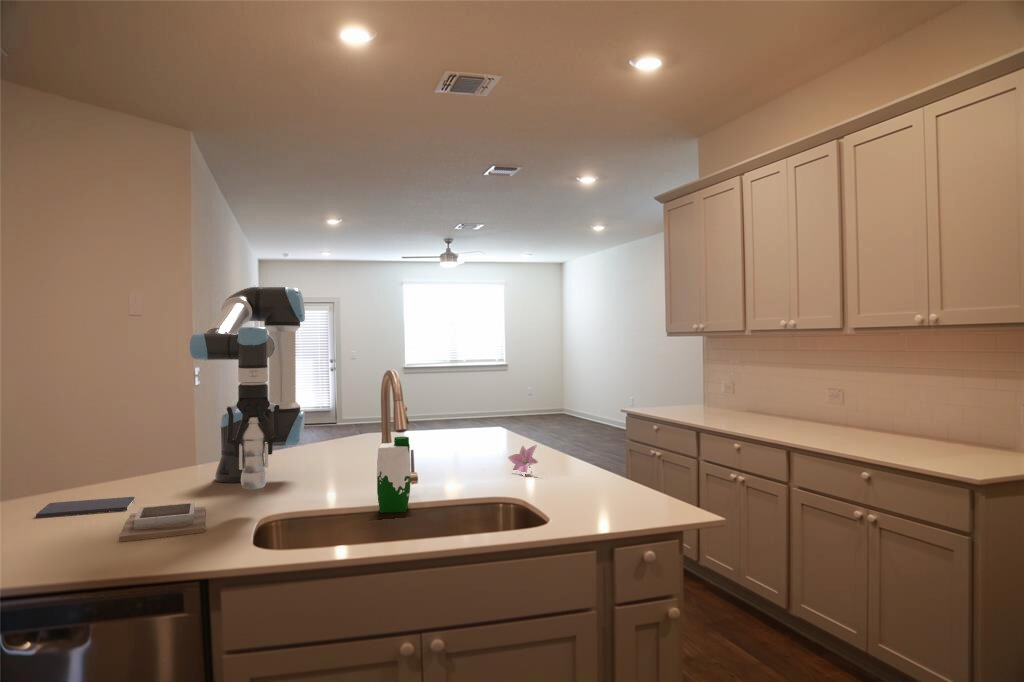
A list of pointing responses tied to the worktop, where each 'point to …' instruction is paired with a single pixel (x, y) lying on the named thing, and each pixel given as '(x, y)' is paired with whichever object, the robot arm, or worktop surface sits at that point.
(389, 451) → the milk carton
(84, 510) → the notebook
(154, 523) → the bottle stand
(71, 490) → the worktop surface
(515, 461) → the lily
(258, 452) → the plastic bottle
